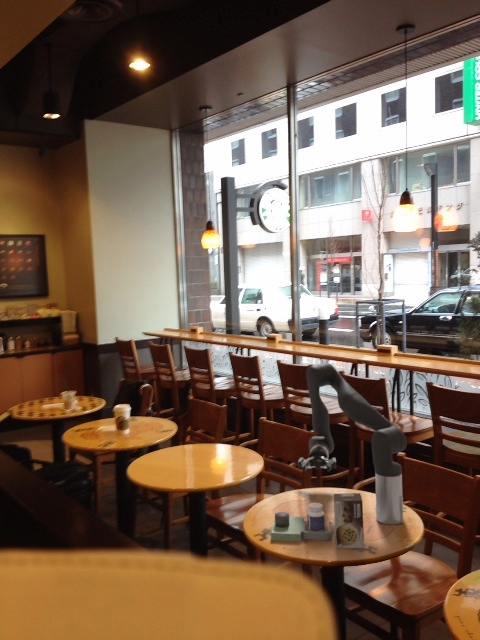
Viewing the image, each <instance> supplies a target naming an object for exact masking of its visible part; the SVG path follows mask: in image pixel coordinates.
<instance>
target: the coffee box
mask: <svg viewBox="0 0 480 640" xmlns="http://www.w3.org/2000/svg"><path fill="white" fill-rule="evenodd" d="M363 508H364V507H363V498H362V494H361V493H360V492H359V493H355V492H354V493H333V509H334V511H333V512H334V513H333V515H334V541H335V547H336V549H365V533H364V510H363Z"/></svg>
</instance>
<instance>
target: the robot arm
mask: <svg viewBox="0 0 480 640" xmlns="http://www.w3.org/2000/svg"><path fill="white" fill-rule="evenodd" d="M305 374H306V376H305V377H306V384H307V390H308V396H309V400H310V406H311V415H312V417H311V418H312V419H311V420H312V422H311V423H312V425H311V426H312V432H314V433H315V434H318V435H321V436H318V435H315V436H311V437H310V438H309V440H308V448H309V454H308V458H306V459H305V458H304V457H299V459H298V461H297V466H298V467H297V468H298V469H301V470H302V471H303V472H307V469H308V470H309V469H312V468H314V469H317V470H321V469H326V472H327V473H329V472H330V471H331V470H332V469H337V459H336V457H332V458H331V459H329V454H332V453H333V451H334V449H335V443H334V440H333V437H332V434H331V430H330V413H329V410H328V408H327V406H326V405H325V403H324V402H323V399H322V397H321V395H320V388H322V387H325V386H330V387H332V388H333V389H334V390H335V391H336V393H337V402H338V406H339V409H340V410H341V411H342V412H343V413H344V414H345V415H346V416H347V417H348V418H349V419H350V420H352V421H353V422H354V423H357V424H360V425H361V426H365V427H366V428H369V429H371V430H372V431H374V432H373V433H372V435H371V452H372V454H371V455H372V464H373V466H374V473H375V508H376V509H375V513H376V514H375V515H376V516H375V517H376V521H378V522H379V523H381V524H384V525H398V524H404V497H403V472H402V471H403V470H402V469H403V468H402V465H401V464H400V463H398V462H395V461H393V455H394V454H398V453H400V452H403V451H405V450H406V448H407V446H408V441H407V439H408V438H407V436H406V435H405V433H404V432H403V431H402V430H401V429H400V428H399V427H398V426H397V425H396V424H394V423H393V422H391V421H390V420H389V419H388V418H386V417H385V416H384V415H382V414H381V413H380V412H379V411H378V410H377V409H376V408H375V407H373V406H372V405H371V404H370V403H369V402H368V401H367V400H366V399H365V398H364V397H363V396H362V395H361V394H360V393H359V392H358V391H356V390H355V389H354V388H353V387H352V386H351V385H350V383H348V382H347V381H346V380H345V378H344V377H343V375H341V373H339V371H338V370H337V369H336V367H334V366H333V365H332V364H331V363H329V362H321V363H318V364H313V365H310V366H309V367H307V369H306V373H305Z"/></svg>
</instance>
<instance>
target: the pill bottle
mask: <svg viewBox="0 0 480 640" xmlns="http://www.w3.org/2000/svg"><path fill="white" fill-rule="evenodd" d="M323 508H324V507H323V504H322V503H319V502H311V503H309V504H308V512H307V531H323V532H326V528H325V526H326V525H325V523H326V522H325V511H324V510H323Z"/></svg>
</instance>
